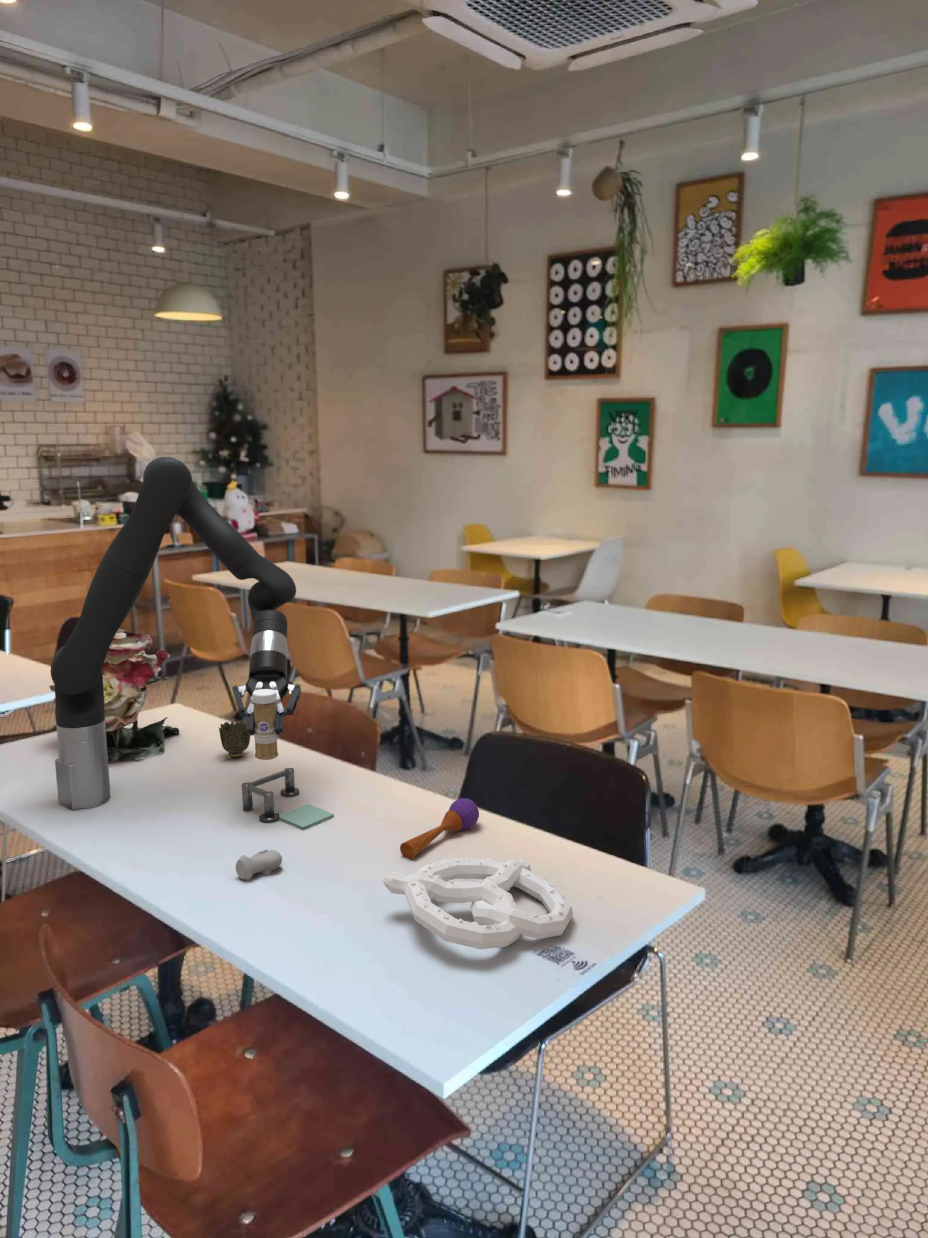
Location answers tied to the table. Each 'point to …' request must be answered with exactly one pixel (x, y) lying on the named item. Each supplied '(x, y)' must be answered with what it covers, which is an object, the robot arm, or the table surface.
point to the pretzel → (482, 901)
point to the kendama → (444, 826)
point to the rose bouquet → (131, 697)
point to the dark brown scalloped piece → (234, 738)
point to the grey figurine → (258, 863)
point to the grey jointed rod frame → (268, 794)
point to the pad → (305, 816)
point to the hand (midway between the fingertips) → (264, 733)
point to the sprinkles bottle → (265, 724)
